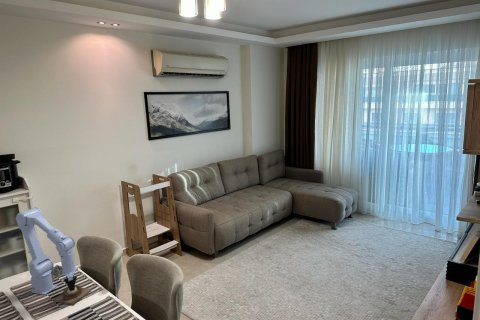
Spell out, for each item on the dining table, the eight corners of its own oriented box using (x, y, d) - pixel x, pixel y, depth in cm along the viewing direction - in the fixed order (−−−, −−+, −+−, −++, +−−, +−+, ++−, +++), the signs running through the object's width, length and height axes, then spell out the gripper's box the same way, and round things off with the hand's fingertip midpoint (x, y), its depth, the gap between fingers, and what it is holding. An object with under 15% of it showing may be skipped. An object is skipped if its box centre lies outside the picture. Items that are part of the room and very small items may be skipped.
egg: (65, 296, 160) (64, 289, 158) (72, 289, 164) (71, 282, 162) (73, 299, 159) (72, 293, 157) (79, 292, 163) (79, 286, 161)
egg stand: (53, 301, 158) (52, 295, 157) (72, 287, 169) (71, 281, 168) (73, 305, 154) (72, 299, 154) (91, 291, 166) (90, 284, 165)
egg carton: (51, 282, 176) (50, 275, 175) (41, 279, 178) (40, 272, 177) (67, 271, 185) (66, 265, 185) (58, 269, 188) (57, 263, 187)
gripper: (78, 265, 154) (81, 291, 157) (75, 253, 166) (79, 277, 169) (61, 270, 150) (65, 296, 153) (60, 257, 163) (63, 281, 165)
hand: (71, 286), depth 161 cm, fingers open, 7 cm apart
